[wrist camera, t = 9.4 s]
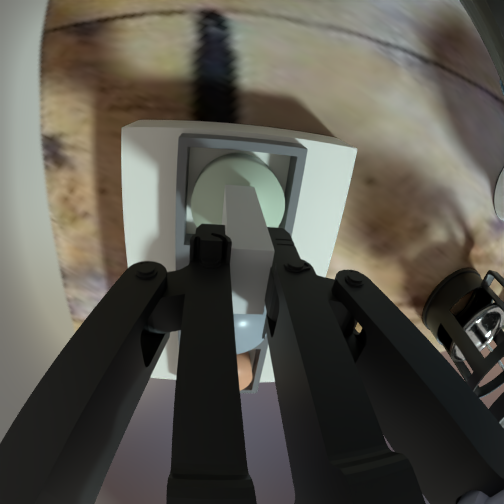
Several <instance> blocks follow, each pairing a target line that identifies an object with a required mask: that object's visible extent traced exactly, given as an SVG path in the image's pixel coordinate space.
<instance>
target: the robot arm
mask: <svg viewBox="0 0 504 504" xmlns="http://www.w3.org/2000/svg"><path fill="white" fill-rule="evenodd" d="M460 2H461V3H462V5H463V7H464V8H465V10H466V11H467V13H468V15H469V16H470V18H471V20H472V22H473V23H474V25H475V27H476V29H477V30H478V32H479V34H480V36H481V38H482V40H483V42H484V44H485V46H486V48H487V50H488V52H489V54H490V56H491V58H492V60H493V62H494V65H495V67H496V69H497V71H498V74H499V76H500V86H501V89H502V93H503V95H504V0H460ZM264 306H266V311H267V313H266V318H265V323H264V328H263V333H262V339H265V335H266V334H267V339H268V345H269V351H270V356H271V362H272V367H273V373H274V378H275V384H276V389H277V395H278V401H279V406H280V412H281V417H282V423H283V429H284V434H285V439H286V445H287V451H288V456H289V462H290V467H291V473H292V479H293V484H294V490H295V503H294V504H426V503H425V501H424V498H423V495H424V496H425V498H426V499H427V500H428V501H429V503H430V504H504V428H503V427H502V426H501V424H500V423H499V422H498V421H497V419H496V418H495V417H494V416H493V414H492V413H491V412H490V411H489V409H488V408H487V407H486V406H485V404H484V403H483V402H482V401H481V400H480V398H479V397H478V396H477V395H476V394H475V392H474V391H473V390H472V389H471V388H470V386H469V385H468V384H467V383H466V382H465V381H464V379H463V378H462V377H461V376H460V375H459V374H458V373H457V372H456V370H455V369H454V368H453V367H452V366H451V365H450V363H449V362H448V361H447V360H446V359H445V358H444V357H443V356H442V354H441V353H440V352H439V351H438V350H437V349H436V348H435V347H434V346H433V345H432V343H431V342H430V341H429V340H428V339H427V338H426V337H425V336H424V335H423V334H422V333H421V332H420V331H419V329H418V328H417V327H416V326H415V325H414V324H413V323H412V322H411V321H410V320H409V319H408V318H407V317H406V316H405V315H404V314H403V313H402V312H401V311H400V310H399V308H398V307H397V306H396V305H395V304H394V303H393V302H392V301H391V300H390V299H389V298H388V297H387V296H386V295H385V294H384V293H383V292H382V291H381V290H380V289H379V288H378V287H377V286H376V285H375V284H374V283H373V282H372V281H371V280H370V279H369V278H368V277H366V276H365V275H364V274H361V273H359V272H358V271H355V270H342V271H339V272H338V273H337V274H336V277H335V280H334V279H330V278H325V277H322V276H318V275H316V273H315V270H314V268H313V267H312V266H311V264H310V263H308V262H307V261H305V260H302V259H301V258H300V256H299V254H298V251H297V249H296V247H295V244H294V242H293V241H292V238H291V235H290V233H288V232H287V231H286V230H285V229H283V228H276V227H267V225H266V222H265V219H264V216H263V212H262V209H261V206H260V203H259V200H258V197H257V194H256V191H255V188H254V187H251V186H238V185H225V191H224V202H223V214H222V225H218V224H201V225H200V226H198V227H197V228H196V232H195V234H194V235H193V236H192V237H191V238H190V260H189V265H188V266H186V267H184V268H182V269H180V270H176V271H170V272H167V270H166V268H165V267H164V266H163V265H162V264H160V263H157V262H154V261H141V262H138V263H135V264H133V265H131V266H130V267H129V268H128V269H127V270H126V271H125V272H124V273H123V274H122V276H121V277H120V278H119V279H118V280H117V281H116V283H115V284H114V285H113V286H112V287H111V289H110V290H109V291H108V292H107V293H106V295H105V296H104V297H103V298H102V300H101V301H100V302H99V303H98V304H97V306H96V307H95V308H94V309H93V311H92V312H91V313H90V314H89V316H88V317H87V318H86V320H85V321H84V322H83V323H82V325H81V326H80V327H79V329H78V330H77V331H76V332H75V334H74V335H73V336H72V338H71V339H70V340H69V342H68V343H67V344H66V346H65V347H64V348H63V350H62V351H61V352H60V354H59V355H58V357H57V358H56V359H55V361H54V362H53V363H52V365H51V366H50V368H49V369H48V371H47V372H46V373H45V375H44V376H43V378H42V379H41V381H40V382H39V383H38V385H37V386H36V388H35V389H34V391H33V392H32V394H31V395H30V397H29V398H28V400H27V402H26V403H25V404H24V406H23V408H22V409H21V411H20V412H19V414H18V415H17V417H16V419H15V420H14V422H13V423H12V425H11V427H10V428H9V430H8V432H7V433H6V435H5V437H4V438H3V440H2V442H1V443H0V504H94V503H95V501H96V498H97V496H98V493H99V491H100V488H101V486H102V484H103V481H104V479H105V476H106V474H107V472H108V469H109V467H110V465H111V463H112V460H113V458H114V456H115V453H116V451H117V449H118V447H119V444H120V442H121V440H122V437H123V435H124V433H125V431H126V429H127V426H128V424H129V422H130V420H131V417H132V415H133V413H134V411H135V409H136V407H137V404H138V402H139V400H140V398H141V396H142V394H143V391H144V389H145V387H146V385H147V383H148V381H149V378H150V377H151V374H152V372H153V370H154V368H155V366H156V364H157V362H158V360H159V358H160V356H161V354H162V352H163V349H164V347H165V345H166V343H167V341H168V339H169V337H170V332H174V331H179V330H181V334H180V344H179V354H178V365H177V376H176V389H175V402H174V418H173V435H172V436H173V437H172V458H171V472H170V475H169V477H168V484H167V504H257V503H256V496H255V490H254V485H253V482H252V479H251V477H250V475H249V473H248V468H247V460H246V450H245V440H244V430H243V420H242V411H241V399H240V388H239V377H238V365H237V353H236V341H235V328H234V315H233V314H261V315H263V312H264ZM357 322H358V323H359V324H360V325H361V326H362V330H361V332H360V333H358V332H357V331H356V329H355V327H356V325H357ZM383 435H384V436H385V438H386V439H387V441H388V442H389V444H390V445H391V447H392V448H393V450H394V451H395V452H392V451H391V450H390V449H389V448H388V446H387V444H386V441H385V439H384V436H383ZM422 494H423V495H422Z"/></svg>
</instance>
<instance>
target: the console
mask: <svg viewBox="0 0 504 504" xmlns="http://www.w3.org/2000/svg"><path fill="white" fill-rule="evenodd" d="M231 153H243V154H248V155H252V156H254V157H257V158H258V159H260V160H262V161H263V162H264V163H266V164H267V165H268V166H269V167H270V169H271V170H272V171H273V173H274V175H275V176H276V178H277V180H278V182H279V183H280V185H281V187H282V190H283V193H284V198H285V211H284V215H283V218H282V220H281V223H280V224H279V226H278V228H283V229H285V230H286V231H287V232H288V233H290V235H291V238H292V241H293V242H294V244H295V247H296V249H297V251H298V254H299V256H300V258H301V259H302V260H305V261H307V262H308V263H310V264H311V266H312V267H313V268H314V270H315V273H316V275H318V276H322V277H326V273H327V270H328V267H329V263H330V259H331V256H332V252H333V249H334V245H335V241H336V238H337V234H338V230H339V226H340V222H341V218H342V214H343V210H344V206H345V202H346V198H347V194H348V190H349V185H350V181H351V177H352V172H353V168H354V163H355V158H356V154H357V148H355V147H353V146H351V145H349V144H348V143H346V142H344V141H342V140H340V139H338V138H336V137H331V136H325V135H319V134H313V133H307V132H301V131H294V130H287V129H279V128H272V127H263V126H254V125H244V124H233V123H221V122H206V121H185V120H137V121H135V122H133V123H131V124H128V125H126V126H124V127H122V136H121V169H122V200H123V218H124V232H125V244H126V254H127V264H128V268H129V267H130V266H131V265H133V264H135V263H138V262H141V261H154V262H157V263H160V264H162V265H163V266H164V267H165V268H166V270H167V272H170V271H176V270H180V269H182V268H184V267H186V266H188V265H189V260H190V238H191V237H192V236H193V235H194V234H195V232H196V228H197V226H196V225H195V222H194V220H193V217H192V213H191V198H192V194H193V191H194V187H195V183H196V180H197V178H198V176H199V174H200V172H201V171H202V170H203V168H204V167H205V166H206V165H207V164H208V163H210V162H211V161H212V160H214V159H216V158H218V157H220V156H222V155H226V154H231ZM180 334H181V330H179V331H174V332H170V337H169V339H168V341H167V343H166V345H165V347H164V349H163V352H162V354H161V356H160V358H159V360H158V362H157V364H156V366H155V368H154V370H153V372H152V374H151V377H150V378H162V379H174V380H176V376H177V365H178V354H179V344H180ZM248 352H249V354H250V360H251V368H252V381H251V383H250V384H249V385H248V386H247V387H246V388H244V389H243V390H241V391H240V393H257V390H258V386H259V382H275V378H274V373H273V367H272V362H271V356H270V351H269V345H268V339H267V335H266V337H265V339H264V340H263V341H262V342H261V343H260V344H259V345H258V346H256V347H255V348H253V349H251V350H249V351H248Z"/></svg>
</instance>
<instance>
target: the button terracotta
mask: <svg viewBox="0 0 504 504" xmlns="http://www.w3.org/2000/svg"><path fill="white" fill-rule="evenodd" d="M237 365H238V377H239V388H240V391H241V390H243V389H244V388H246V387H247V386H248V385H249V384H250V383H251V381H252V368H251V360H250V354H249V352H248V351H247V352H244V353H241V354H237Z"/></svg>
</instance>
